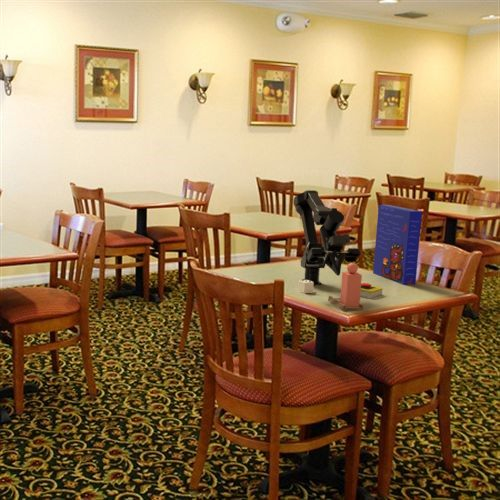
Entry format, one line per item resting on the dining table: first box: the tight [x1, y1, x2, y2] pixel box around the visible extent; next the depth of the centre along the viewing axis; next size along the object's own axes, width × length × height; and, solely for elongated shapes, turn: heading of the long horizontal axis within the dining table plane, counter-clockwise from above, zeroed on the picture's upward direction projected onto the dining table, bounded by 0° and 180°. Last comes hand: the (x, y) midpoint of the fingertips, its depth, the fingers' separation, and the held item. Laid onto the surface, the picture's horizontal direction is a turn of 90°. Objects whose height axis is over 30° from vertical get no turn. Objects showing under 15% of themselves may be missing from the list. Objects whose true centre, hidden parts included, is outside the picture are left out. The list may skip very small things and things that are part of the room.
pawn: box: [339, 262, 363, 307], centre depth 227 cm, size 5×5×15 cm
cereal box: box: [372, 204, 423, 286], centre depth 278 cm, size 22×6×30 cm, turn 23°
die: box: [297, 279, 315, 294], centre depth 249 cm, size 4×4×4 cm
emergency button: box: [339, 282, 386, 300], centre depth 251 cm, size 9×4×15 cm
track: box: [327, 295, 365, 312], centre depth 232 cm, size 14×8×2 cm, turn 15°
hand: (338, 274), depth 238 cm, fingers closed
